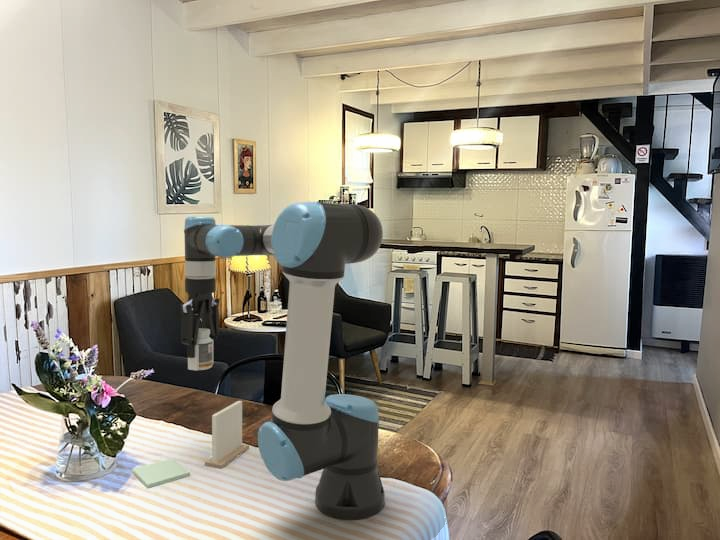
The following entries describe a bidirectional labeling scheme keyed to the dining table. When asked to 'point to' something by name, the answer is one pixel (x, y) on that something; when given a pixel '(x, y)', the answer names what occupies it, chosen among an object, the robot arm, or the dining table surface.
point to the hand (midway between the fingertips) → (200, 366)
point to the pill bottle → (204, 349)
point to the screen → (226, 436)
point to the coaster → (160, 472)
